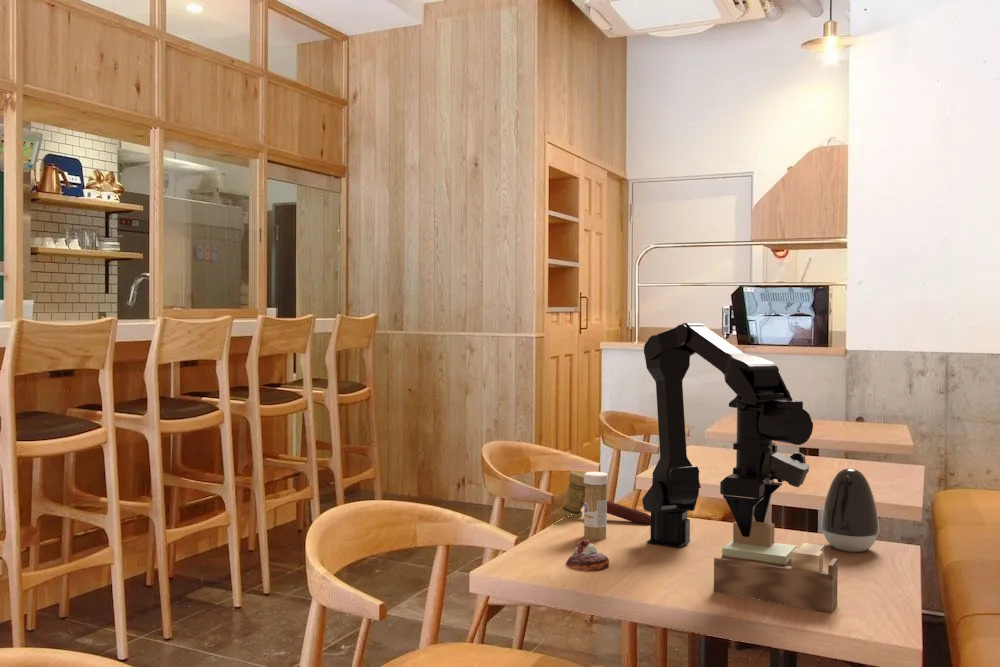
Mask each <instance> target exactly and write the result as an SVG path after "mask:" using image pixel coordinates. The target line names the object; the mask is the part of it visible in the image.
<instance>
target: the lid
mask: <svg viewBox="0 0 1000 667" xmlns="http://www.w3.org/2000/svg"><path fill="white" fill-rule="evenodd" d="M732 524H733V525H732V526H733V528H732V531H733V532H732V533H733V534H732V537H733V538H732V540H731V541H729V542H728V543H727V544H726V545H724V546H723V547H722V548H721V556H722V555H724V556H731V557H738V558H745V559H752V560H759V561H766V562H773V563H780V564H786V563H787V562H788V561H789V560H790V559H791V558H792V551H793V550H794V549H795V548H797V545H793V544H786V543H778V542H775V523H771V522H764V523H763V522H756V521H754V520H753V521H752V527H751V532H750V536H749V537H743V536H742V534H741V532H740V529H739V527H738V525H737V523H736V520H735V521H733V522H732Z"/></svg>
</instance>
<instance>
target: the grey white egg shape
mask: <svg viewBox="0 0 1000 667" xmlns="http://www.w3.org/2000/svg"><path fill="white" fill-rule="evenodd" d="M824 500H825V501H824V504H823V509H822V515H821V521H820V524H821V525H820V527H821V530H822V531H823V535H824V538H825V540H826V541H827V543H828V544H830V545H831V547H833V548H835V549H836V550H839V551H843V552H847V553H848V552H849V553H861V552H864V551H867V550H869V549H870V548H871V547H872V546H873V545H874V544H875V542H876V540H877V537H878V534H880V523H879V516H878V511H877V510H878V509H877V506H876V505H877V504H876V501H875V497H874V495H873V491H872V488H871V486H870V484H869V482H868V480H867V478H866V477H865V475H864V474H863V473H862V472H861V471H860V470H858V469H856V468H850V467H848V468H844V469H841V470H840V471H838V473H836V475H835V476H834V477H833V479H832V481H831V483H830V486H829V488H828V491H827V494H826V498H825V499H824Z"/></svg>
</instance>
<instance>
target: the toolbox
mask: <svg viewBox="0 0 1000 667" xmlns="http://www.w3.org/2000/svg"><path fill="white" fill-rule="evenodd" d="M791 559H792V558H791ZM791 559H790V560H789V561H788V562H787V563H786V564H780V563H773V562H766V561H759V560H752V559H745V558H738V557H731V556H724V555H722V554H721V557H714V558H713V592H714V593H719V592H720V594H724V593H726V594H725V595H730V594H731V595H730V596H735V595H737V596H736V597H740V596H743V597H742V598H746V597H748V598H747V599H751V598H755V599H754V600H757V599H760V600H759V601H762V600H764V601H763V602H767V601H770V602H769V603H773V602H775V603H774V604H778V603H781V604H780V605H784V604H786V605H785V606H789V605H792V606H791V607H794V606H797V607H796V608H800V607H802V608H801V609H805V608H807V610H813V611H818V612H826V613H830V614H832V613H834V611H835V609H836V608H837V605H838V571H839V570H838V569H839V568H838V566H839V565H838V564H839V562H838V561H839V560H838V559H839V558H835V557H834V558H832V560H831V561H830V562H829V563H828V569H827V571H825V570H822V571H821V573H820V572H813V571H806V570H799V569H792V568H791Z"/></svg>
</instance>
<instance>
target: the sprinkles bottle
mask: <svg viewBox="0 0 1000 667" xmlns="http://www.w3.org/2000/svg"><path fill="white" fill-rule="evenodd" d="M584 473H585V474H584V483H585V502H584V505H583V513H584V514H583V527H584V528H583V530H584V531H583V538H585V540H590V541H604V540H606V539H607V524H608V522H607V521H608V519H607V518H608V517H607V516H608V513H607V501H608V498H607V494H608V493H607V491H608V490H607V485H608V480H609V479H608V473H606V472H603V471H587V472H584Z"/></svg>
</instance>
